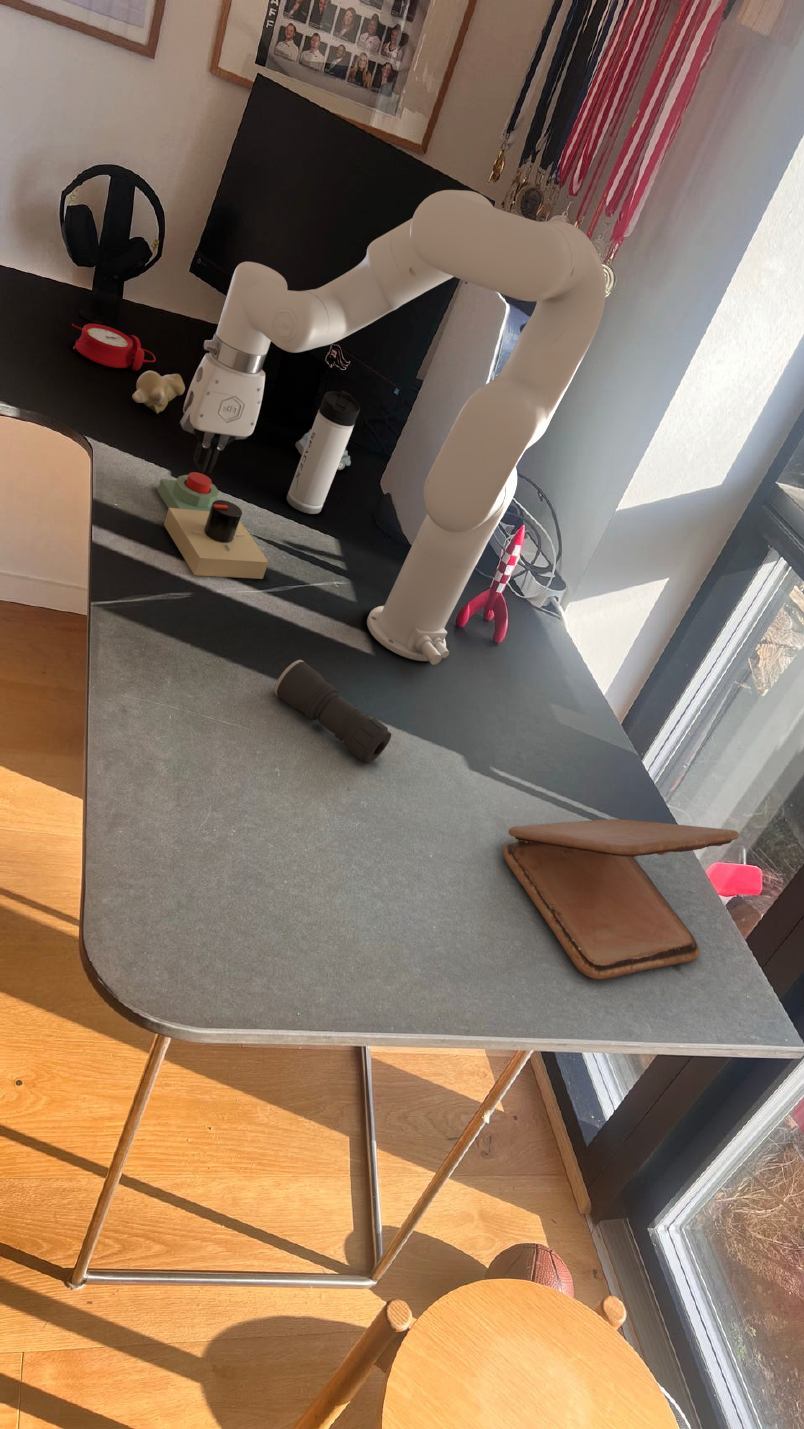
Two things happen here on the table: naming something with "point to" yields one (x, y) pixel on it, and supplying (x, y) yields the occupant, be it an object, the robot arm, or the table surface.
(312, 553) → the table surface
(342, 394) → the travel mug
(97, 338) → the alarm clock
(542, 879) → the case
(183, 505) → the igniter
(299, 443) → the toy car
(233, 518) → the knob
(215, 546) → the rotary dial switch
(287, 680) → the flashlight
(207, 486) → the button
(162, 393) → the cream statuette
